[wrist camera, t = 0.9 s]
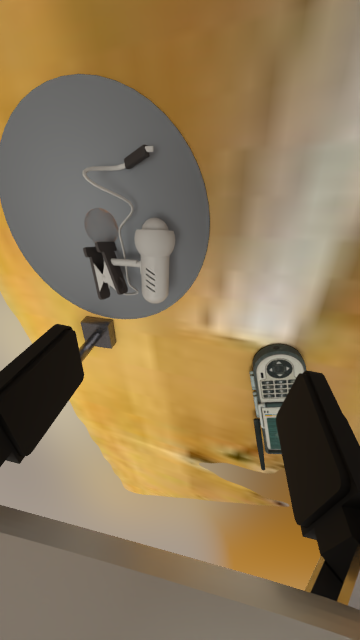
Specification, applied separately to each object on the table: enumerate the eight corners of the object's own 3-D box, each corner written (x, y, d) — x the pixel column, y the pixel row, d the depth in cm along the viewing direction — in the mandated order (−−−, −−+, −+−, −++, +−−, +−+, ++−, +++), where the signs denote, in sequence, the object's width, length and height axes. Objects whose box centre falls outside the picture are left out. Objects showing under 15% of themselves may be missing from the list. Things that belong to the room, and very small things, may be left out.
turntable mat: (-44, 76, 26) (-45, 76, 25) (225, 72, 22) (225, 71, 21) (38, 307, 42) (37, 308, 42) (199, 328, 38) (199, 329, 38)
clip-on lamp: (96, 160, 30) (107, 294, 36) (60, 141, 24) (80, 304, 30) (182, 155, 27) (178, 301, 33) (165, 132, 21) (163, 314, 27)
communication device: (319, 335, 35) (344, 376, 28) (316, 429, 47) (333, 476, 39) (241, 344, 39) (244, 382, 31) (256, 429, 50) (261, 473, 43)
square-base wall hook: (86, 314, 41) (23, 375, 28) (112, 317, 40) (60, 381, 28) (91, 340, 44) (38, 405, 31) (116, 343, 43) (71, 412, 31)
